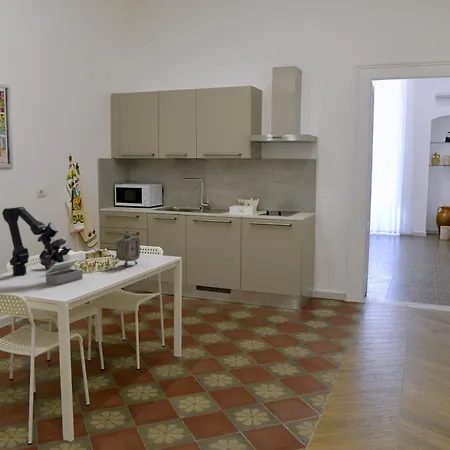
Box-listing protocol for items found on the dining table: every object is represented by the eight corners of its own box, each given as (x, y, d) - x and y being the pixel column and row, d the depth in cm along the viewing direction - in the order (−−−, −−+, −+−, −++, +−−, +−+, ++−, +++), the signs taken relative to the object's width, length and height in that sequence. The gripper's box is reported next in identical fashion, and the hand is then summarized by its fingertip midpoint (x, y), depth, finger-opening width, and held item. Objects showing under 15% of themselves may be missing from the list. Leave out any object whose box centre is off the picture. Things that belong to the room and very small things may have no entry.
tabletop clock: (128, 268, 331) (127, 227, 328) (115, 267, 334) (114, 227, 331) (140, 263, 344) (139, 225, 341) (128, 262, 348) (127, 224, 345)
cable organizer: (69, 274, 314) (68, 254, 313) (55, 272, 319) (54, 253, 317) (85, 269, 328) (85, 250, 327) (72, 268, 332) (71, 249, 331)
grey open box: (46, 283, 290) (45, 274, 290) (70, 277, 306) (70, 268, 305) (57, 285, 286) (57, 276, 285) (82, 279, 301) (82, 270, 301)
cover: (45, 274, 290) (45, 272, 290) (70, 268, 305) (69, 267, 305) (55, 265, 286) (54, 263, 286) (79, 259, 301) (78, 258, 301)
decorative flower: (39, 255, 322) (44, 244, 336) (35, 271, 326) (40, 260, 340) (63, 260, 325) (67, 249, 339) (60, 277, 329) (63, 265, 343)
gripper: (42, 235, 287) (57, 258, 283) (68, 231, 303) (83, 252, 299) (32, 248, 292) (47, 270, 288) (58, 243, 308) (73, 264, 304)
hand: (63, 264), depth 295 cm, fingers closed, pressing on cover
